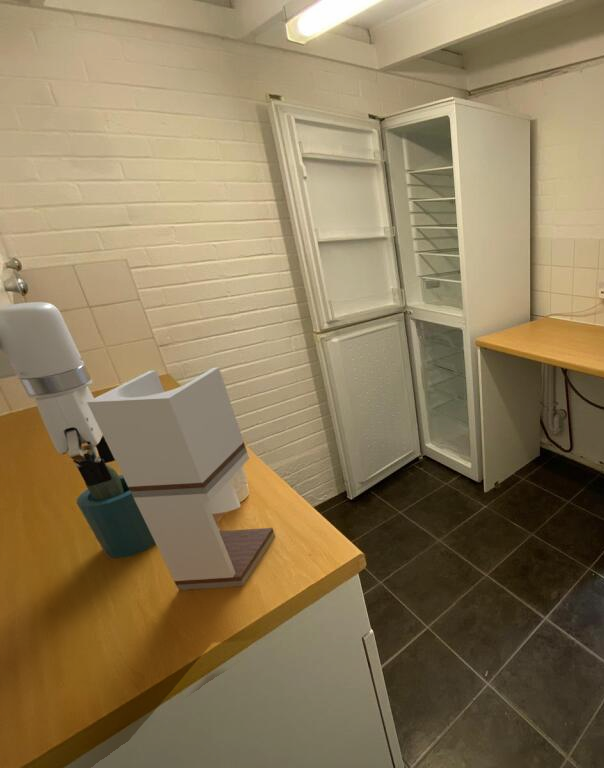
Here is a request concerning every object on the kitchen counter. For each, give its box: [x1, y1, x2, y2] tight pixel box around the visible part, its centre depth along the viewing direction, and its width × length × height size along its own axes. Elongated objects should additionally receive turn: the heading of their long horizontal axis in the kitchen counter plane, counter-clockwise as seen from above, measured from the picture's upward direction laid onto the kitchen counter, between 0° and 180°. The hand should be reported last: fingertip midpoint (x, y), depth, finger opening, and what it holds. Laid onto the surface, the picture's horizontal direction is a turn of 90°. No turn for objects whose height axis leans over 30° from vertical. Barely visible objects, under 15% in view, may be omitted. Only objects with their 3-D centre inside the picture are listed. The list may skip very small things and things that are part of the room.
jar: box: [76, 474, 156, 559], centre depth 78 cm, size 10×10×12 cm
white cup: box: [231, 465, 250, 504], centre depth 89 cm, size 8×8×10 cm
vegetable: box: [84, 449, 124, 501], centre depth 76 cm, size 4×4×20 cm
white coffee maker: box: [87, 367, 276, 591], centre depth 68 cm, size 11×11×35 cm
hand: (103, 471), depth 74 cm, fingers open, 7 cm apart
